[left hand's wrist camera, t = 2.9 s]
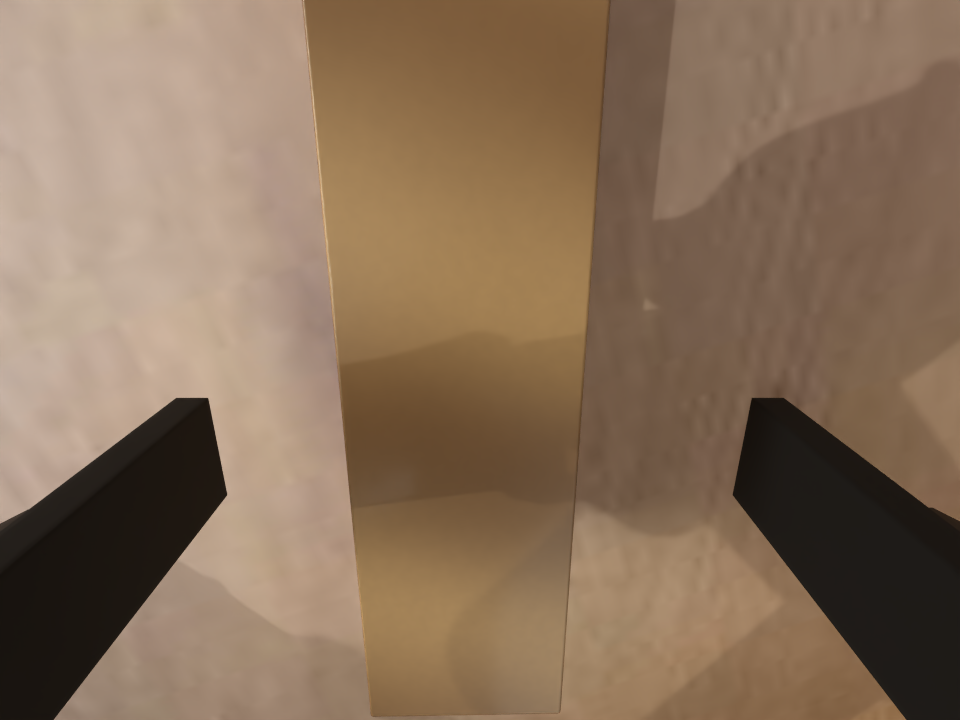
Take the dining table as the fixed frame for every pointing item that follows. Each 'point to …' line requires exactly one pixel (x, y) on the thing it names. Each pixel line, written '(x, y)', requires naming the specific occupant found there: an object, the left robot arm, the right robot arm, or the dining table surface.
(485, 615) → the bar
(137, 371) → the dining table surface
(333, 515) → the dining table surface
